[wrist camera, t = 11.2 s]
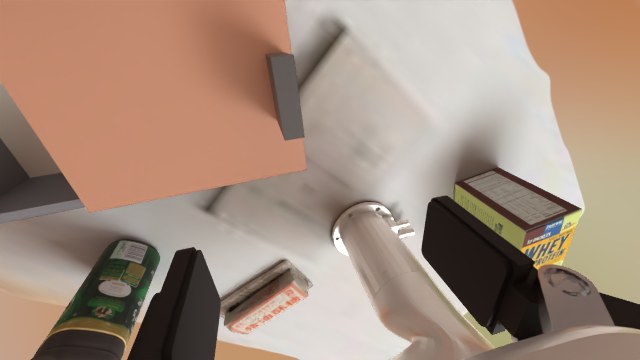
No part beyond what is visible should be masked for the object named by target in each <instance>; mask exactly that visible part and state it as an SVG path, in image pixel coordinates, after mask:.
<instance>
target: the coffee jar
mask: <svg viewBox="0 0 640 360" xmlns="http://www.w3.org/2000/svg"><path fill="white" fill-rule="evenodd" d="M159 261H160V255H159V253H158V252H157V251H156V250H155V249H154V248H152V247H150V246H149V245H146V244H144V243H141V242H137V241H130V240H120V241H116V242H114V243H112V244H111V245H109V246H108V248H107V249H106V250H105V251H104V252H103V254H102V255H101V257H100V258H99V260H98V261H97V263H96V264H95V266H94V267H93V269H92V270H91V272H90V273H89V275H88V276H87V278H86V279H85V281H84V282H83V284H82V285H81V287H80V288H79V290H78V291H77V293H76V294H75V296H74V297H73V299H72V300H71V302H70V303H69V305H68V306H67V307H66V309H65V311H64V312H63V314H62V315H61V317H60V318H59V320H58V321H57V323H56V324H55V326H54V327H53V329H52V330H51V332H50V333H49V335H48V336H47V338H46V339H45V340H44V342H43V343H42V345H41V346H40V348H39V349H38V351H37V352H36V354H35V356H34V357H33V358H32V359H31V360H121V358H122V356H123V353H124V351H125V349H126V346H127V343H128V340H129V338H130V335H131V333H132V329H133V327H134V325H135V322H136V320H137V317H138V315H139V312H140V309H141V307H142V304H143V302H144V299H145V296H146V294H147V291H148V289H149V286H150V284H151V281H152V279H153V276H154V274H155V271H156V269H157V266H158V264H159Z"/></svg>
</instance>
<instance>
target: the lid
mask: <svg viewBox="0 0 640 360" xmlns="http://www.w3.org/2000/svg"><path fill="white" fill-rule="evenodd" d="M0 81H1V82H2V84H3V85H4V87H5V88H6V90H7V91H8V93H9V94H10V96H11V97H12V99H13V100H14V102H15V103H16V105H17V106H18V108H19V109H20V111H21V112H22V114H23V115H24V117H25V118H26V120H27V121H28V123H29V124H30V126H31V127H32V129H33V130H34V131H35V133H36V134H37V136H38V137H39V139H40V140H41V142H42V143H43V145H44V146H45V148H46V149H47V151H48V152H49V154H50V155H51V157H52V158H53V160H54V161H55V163H56V164H57V166H58V167H59V169H60V170H61V172H62V173H63V175H64V176H65V178H66V179H67V181H68V182H69V184H70V185H71V187H72V188H73V189H74V191H75V192H76V194H77V195H78V197H79V198H80V200H81V201H82V203H83V204H84V206H85V207H86V209H87V210H88V212H89V213H90V212H95V211H100V210H105V209H110V208H115V207H120V206H125V205H130V204H136V203H141V202H146V201H151V200H156V199H161V198H166V197H171V196H176V195H181V194H186V193H191V192H196V191H202V190H207V189H212V188H217V187H222V186H227V185H232V184H237V183H242V182H247V181H252V180H257V179H262V178H268V177H273V176H278V175H283V174H288V173H293V172H298V171H303V170H307V166H306V159H305V151H304V144H303V138H304V130H303V122H302V115H301V107H300V99H299V92H298V84H297V76H296V68H295V61H294V55H292V54H291V47H290V39H289V32H288V24H287V17H286V9H285V2H284V0H0Z"/></svg>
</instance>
